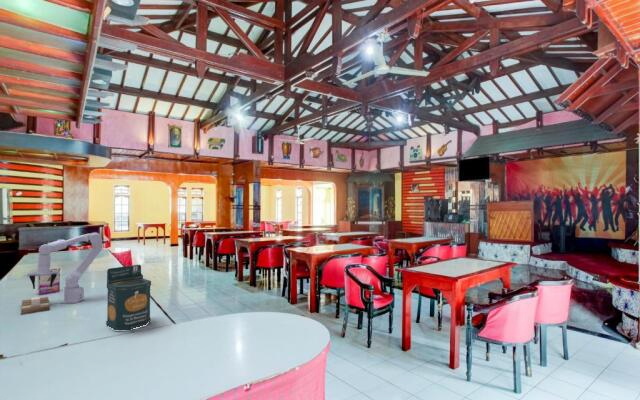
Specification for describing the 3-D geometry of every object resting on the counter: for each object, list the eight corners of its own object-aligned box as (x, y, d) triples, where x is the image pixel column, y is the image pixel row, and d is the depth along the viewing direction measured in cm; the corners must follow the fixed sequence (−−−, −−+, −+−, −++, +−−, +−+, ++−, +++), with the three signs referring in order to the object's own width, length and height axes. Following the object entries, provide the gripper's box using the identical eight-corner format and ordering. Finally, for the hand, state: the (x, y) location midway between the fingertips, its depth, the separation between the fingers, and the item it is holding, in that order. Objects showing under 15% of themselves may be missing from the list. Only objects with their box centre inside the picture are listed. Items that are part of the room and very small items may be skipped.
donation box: (140, 317, 177) (141, 264, 177) (154, 324, 167) (155, 267, 167) (106, 325, 164) (106, 268, 165) (119, 333, 154) (119, 272, 155)
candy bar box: (57, 290, 232) (57, 267, 232) (59, 291, 229) (60, 267, 229) (36, 294, 223) (37, 269, 223) (39, 295, 220) (39, 270, 220)
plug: (39, 309, 189) (39, 298, 189) (31, 310, 187) (31, 299, 187) (39, 307, 192) (39, 296, 192) (31, 308, 190) (31, 297, 190)
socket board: (49, 310, 189) (49, 305, 189) (21, 314, 181) (21, 310, 181) (48, 300, 207) (48, 296, 207) (22, 304, 199) (22, 300, 199)
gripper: (58, 263, 206) (57, 285, 206) (27, 264, 196) (26, 288, 196) (59, 264, 201) (58, 287, 200) (28, 266, 191) (26, 290, 191)
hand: (42, 287), depth 198 cm, fingers open, 7 cm apart
